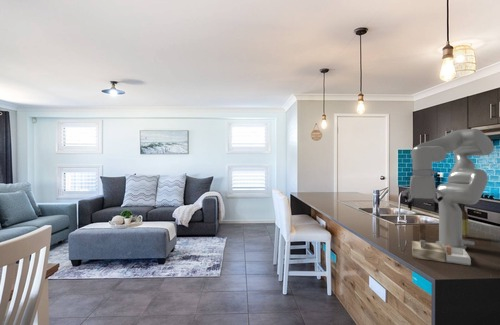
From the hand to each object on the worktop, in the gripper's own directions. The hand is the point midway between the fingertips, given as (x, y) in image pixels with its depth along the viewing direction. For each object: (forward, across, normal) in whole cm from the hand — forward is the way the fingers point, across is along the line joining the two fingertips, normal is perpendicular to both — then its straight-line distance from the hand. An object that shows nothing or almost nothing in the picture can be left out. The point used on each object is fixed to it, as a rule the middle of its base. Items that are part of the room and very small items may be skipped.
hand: (422, 210), depth 128 cm
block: (+17, -9, +1) cm, 19 cm away
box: (+20, -12, +1) cm, 23 cm away
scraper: (+16, 0, +1) cm, 16 cm away
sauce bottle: (+22, -20, -45) cm, 54 cm away
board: (+20, -2, +1) cm, 20 cm away
